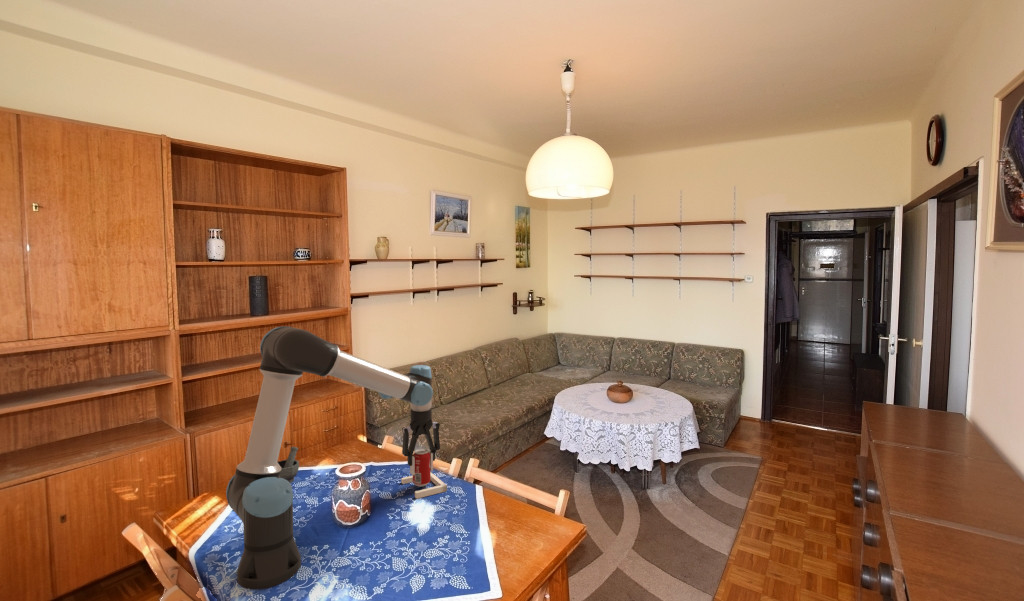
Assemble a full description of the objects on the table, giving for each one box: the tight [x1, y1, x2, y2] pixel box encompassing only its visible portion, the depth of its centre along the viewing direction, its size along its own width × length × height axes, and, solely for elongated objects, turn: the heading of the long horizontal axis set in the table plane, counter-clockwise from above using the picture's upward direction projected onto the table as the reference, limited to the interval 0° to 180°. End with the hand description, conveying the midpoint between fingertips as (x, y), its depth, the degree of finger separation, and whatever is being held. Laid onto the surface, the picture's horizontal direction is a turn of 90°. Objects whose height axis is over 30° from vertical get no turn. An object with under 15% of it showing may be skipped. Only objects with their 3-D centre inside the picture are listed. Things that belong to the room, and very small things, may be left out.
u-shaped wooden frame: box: [400, 471, 448, 500], centre depth 176 cm, size 15×12×2 cm
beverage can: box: [412, 448, 431, 488], centre depth 175 cm, size 6×6×12 cm
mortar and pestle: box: [277, 446, 300, 484], centre depth 181 cm, size 11×9×12 cm
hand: (421, 471), depth 175 cm, fingers closed on beverage can, 6 cm apart
